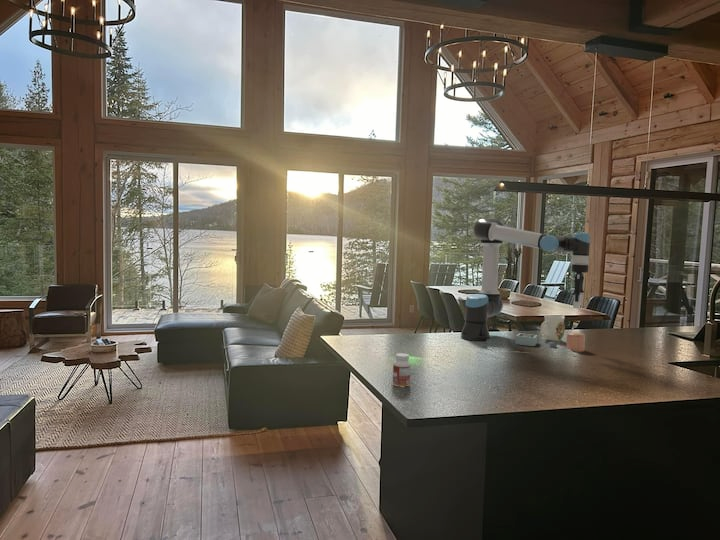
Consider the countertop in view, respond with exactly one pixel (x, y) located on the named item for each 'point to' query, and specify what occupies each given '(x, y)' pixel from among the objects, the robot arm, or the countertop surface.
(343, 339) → the countertop surface
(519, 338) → the crate
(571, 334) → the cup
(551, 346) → the ball
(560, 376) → the countertop surface
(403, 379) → the pill bottle
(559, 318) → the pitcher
